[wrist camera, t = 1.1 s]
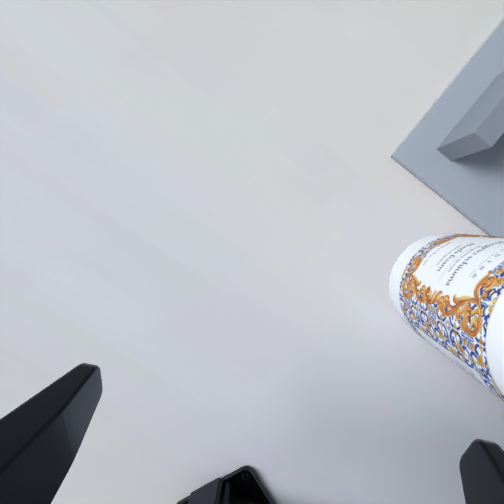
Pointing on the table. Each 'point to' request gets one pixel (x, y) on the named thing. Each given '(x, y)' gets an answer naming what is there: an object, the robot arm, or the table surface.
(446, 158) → the gray square holder
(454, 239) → the bath foam
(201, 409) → the table surface
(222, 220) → the table surface
